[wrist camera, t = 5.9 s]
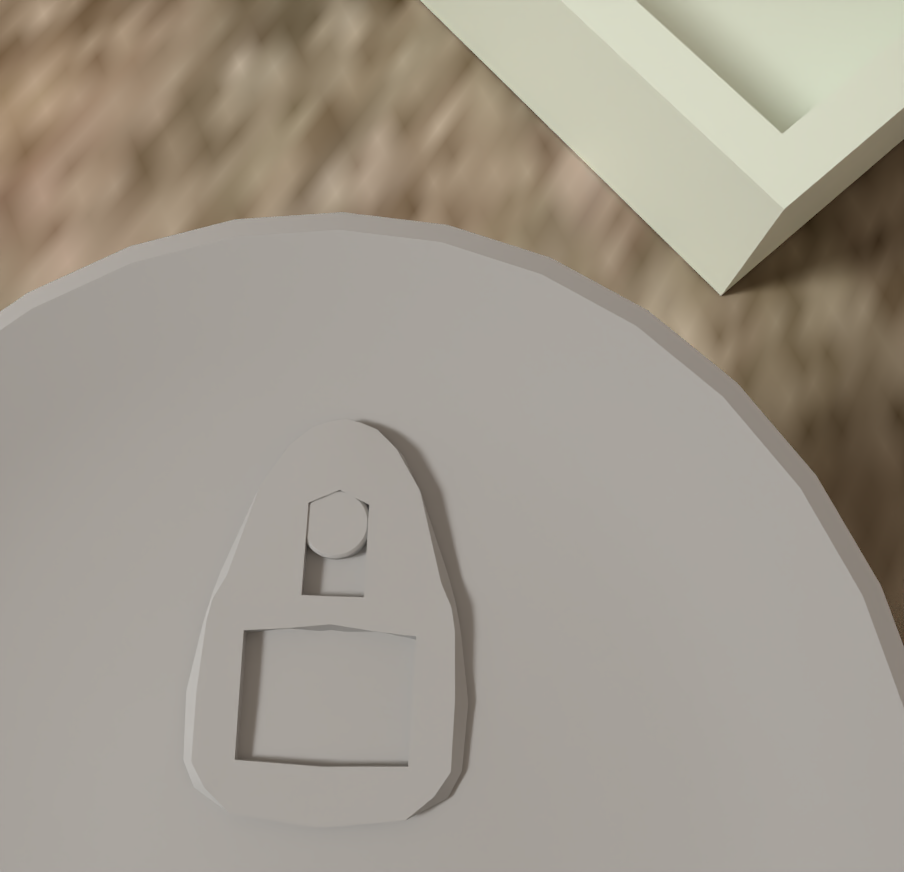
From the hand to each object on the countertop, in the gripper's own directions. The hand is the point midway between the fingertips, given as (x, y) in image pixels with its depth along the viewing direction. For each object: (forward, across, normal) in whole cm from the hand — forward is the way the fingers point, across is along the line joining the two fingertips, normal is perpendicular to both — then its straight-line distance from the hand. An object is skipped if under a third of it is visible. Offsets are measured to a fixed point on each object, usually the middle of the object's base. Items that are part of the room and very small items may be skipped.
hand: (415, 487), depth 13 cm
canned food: (0, 0, -5) cm, 5 cm away
